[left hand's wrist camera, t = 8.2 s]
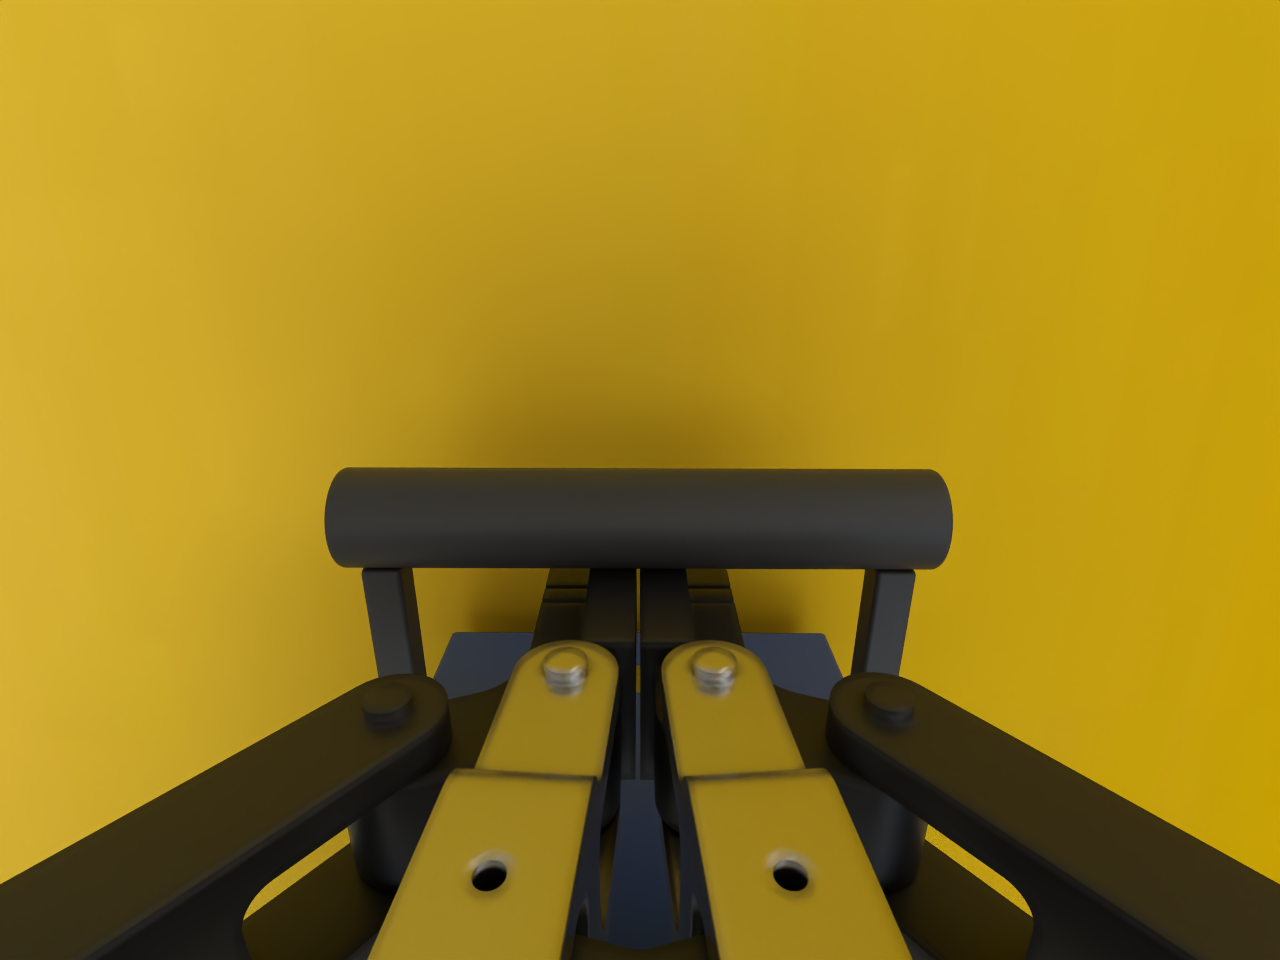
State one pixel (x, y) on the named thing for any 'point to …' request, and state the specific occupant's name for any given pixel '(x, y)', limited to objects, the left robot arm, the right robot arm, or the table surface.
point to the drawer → (644, 539)
